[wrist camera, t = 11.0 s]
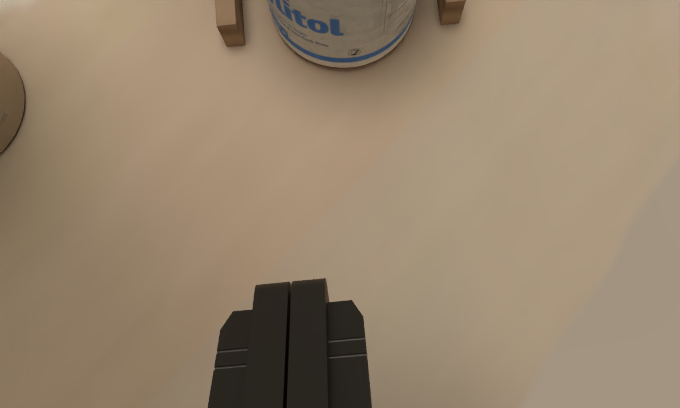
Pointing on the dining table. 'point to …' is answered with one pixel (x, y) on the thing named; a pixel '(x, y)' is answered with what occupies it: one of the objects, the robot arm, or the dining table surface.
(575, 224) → the dining table surface
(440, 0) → the walnut dock
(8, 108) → the robot arm
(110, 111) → the dining table surface
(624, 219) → the dining table surface
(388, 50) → the supplement tub
